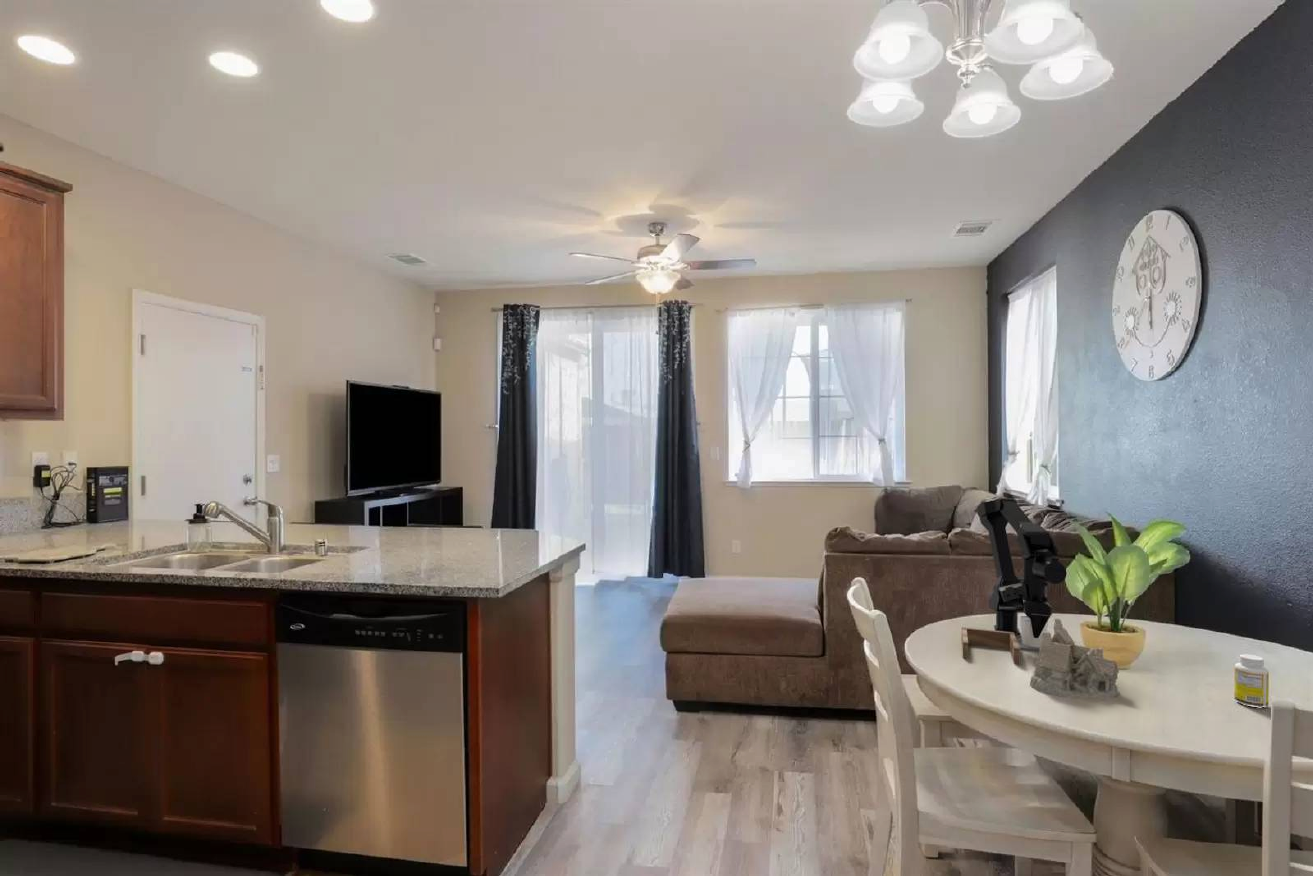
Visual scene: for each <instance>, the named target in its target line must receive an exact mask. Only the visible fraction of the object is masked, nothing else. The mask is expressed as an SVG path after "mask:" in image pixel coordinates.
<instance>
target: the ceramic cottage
mask: <svg viewBox="0 0 1313 876" xmlns="http://www.w3.org/2000/svg"><path fill="white" fill-rule="evenodd" d="M1053 630H1054V631H1053V636H1052V634H1051V632H1050V631H1048V630H1047V631H1044V632H1042V638H1041V642H1040V652H1039V653H1038V658H1037V660H1036V662H1035V667H1034V668H1035V669H1034V671H1032V675H1031V677H1030V681H1029V686H1030V688H1032V689H1034V690H1035V691H1037V692H1041V693H1045V694H1049V695H1053V696H1058V697H1063V698H1086V699H1089V698H1091V699H1108V700H1109V699H1114V698H1116V697H1117V695H1119V694H1120V693H1119V688H1118V686H1117V685H1116V684H1117V680H1118V678H1119V677H1118V674H1119V673H1120V671H1119V666H1118V665H1117V662H1116V660H1113V659H1108V658H1104V650H1103V648H1102V646H1097V647H1096V648H1094V647H1089V646H1084V645H1083V646H1082V645H1077V644H1075V641H1074V640H1073V638H1072V636H1071V635H1070V634H1069V632H1068V630H1067V629H1066V628H1065V627H1063V623H1062V620H1061V618H1056V617H1055V618H1054V624H1053Z"/></svg>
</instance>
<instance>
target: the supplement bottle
mask: <svg viewBox="0 0 1313 876" xmlns="http://www.w3.org/2000/svg"><path fill="white" fill-rule="evenodd" d="M1238 660H1239V662H1237V663H1235V664H1234V700H1236V701H1238V702H1240V703H1242V704H1245V705H1254V706H1258V707H1262V706H1268V707H1269V691H1270V690H1269V683H1270V681H1269V676H1270V674H1269V673H1270V671H1269V669H1268V668H1267V667H1266V666H1265V660H1264V658H1263V657H1261V656H1258V655H1254V654H1247V653H1245V654H1240V655H1239V659H1238ZM1236 701H1235V702H1236ZM1238 702H1237V703H1238Z"/></svg>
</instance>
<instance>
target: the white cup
mask: <svg viewBox="0 0 1313 876" xmlns="http://www.w3.org/2000/svg"><path fill="white" fill-rule="evenodd" d="M1019 623H1020V624H1019V625H1020V636H1021V639H1022V644H1024V645H1026V646H1030V647H1038V648H1040V642H1041V638H1042V632H1044V631H1048V627H1049V620H1048V621H1047V623H1046V625H1045V626H1044V628H1043V630H1042V632H1041V634H1040V636H1039V638H1034V637H1033V632H1032V626H1031V621H1030V618H1029V617H1028V616H1027V615H1022V616H1020V617H1019Z"/></svg>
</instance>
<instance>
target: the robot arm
mask: <svg viewBox="0 0 1313 876" xmlns="http://www.w3.org/2000/svg"><path fill="white" fill-rule="evenodd" d="M976 512H977V513H976V514H977V515H978V518H979V521H980V524H981V525H982V526H983V528H985V529H986V531H987V532H988V537H989V541H990V547H991V551H992V558H993V561H994V562H993V563H994V565H995V566H994V567H995V572H996V580H995V583H994V585H993V593H992V594H991V596H990V598H988V609H991V610H992V611H994V612H995V624H994V625H993V629H994V630H995V631H1004V632H1014V634H1015V635H1021V630H1020V629H1019V626H1018V625H1019V612H1021V613H1022V612H1023V613H1024V616H1028V617H1029V618H1030V621H1031V626H1032V632H1033V637H1034V638H1039V636H1040V634H1041V632H1042V630H1043V628H1044V626H1045V625H1046V623H1047V621H1048V622H1049V619H1051V617H1052V616H1053V614H1052V611H1053V609H1052V606H1051V605H1050V604H1049V603H1048V596H1047V587H1048V586H1049V585H1048V583H1050V584H1053V585H1057V584H1061V583H1062V582H1064V580H1066V578H1067V570H1066V567H1065V566H1064V564H1063V563H1061V562H1060V559H1059V553H1058V552H1059V550H1058V548H1057V547H1056V544H1055V542H1054V539H1053V537H1052V536H1051V533H1050V532H1049V531H1048V530H1047V529H1045V528H1044V527H1042V526H1041V525H1039V524H1036V523H1034V522H1033V521H1032V520H1031V519H1030V518H1029V517H1028V515H1027V514H1026V513H1025V512H1024V511H1023V510H1022V508H1021V507H1020V506H1019V505H1018V501H1017V500H1016V498H1012V497H998V498H996V499H993V500H988V501H982V502H980V503H979V505H977V508H976ZM1008 523H1009V525H1010V526H1011V527H1012V529H1013V530H1014V531H1015V532H1016V535H1017V536H1016V541H1017V544H1018V546H1019V547H1020V549H1021V550H1022V552H1020V554H1019V556H1020V557H1022V577H1021V578H1019V577H1018V576H1017V575H1016V572H1015V567H1014V562H1013V558H1012V554H1011V553H1012V552H1011V548H1010V547H1011V546H1010V543H1009V539H1008V533H1007V526H1008Z"/></svg>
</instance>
